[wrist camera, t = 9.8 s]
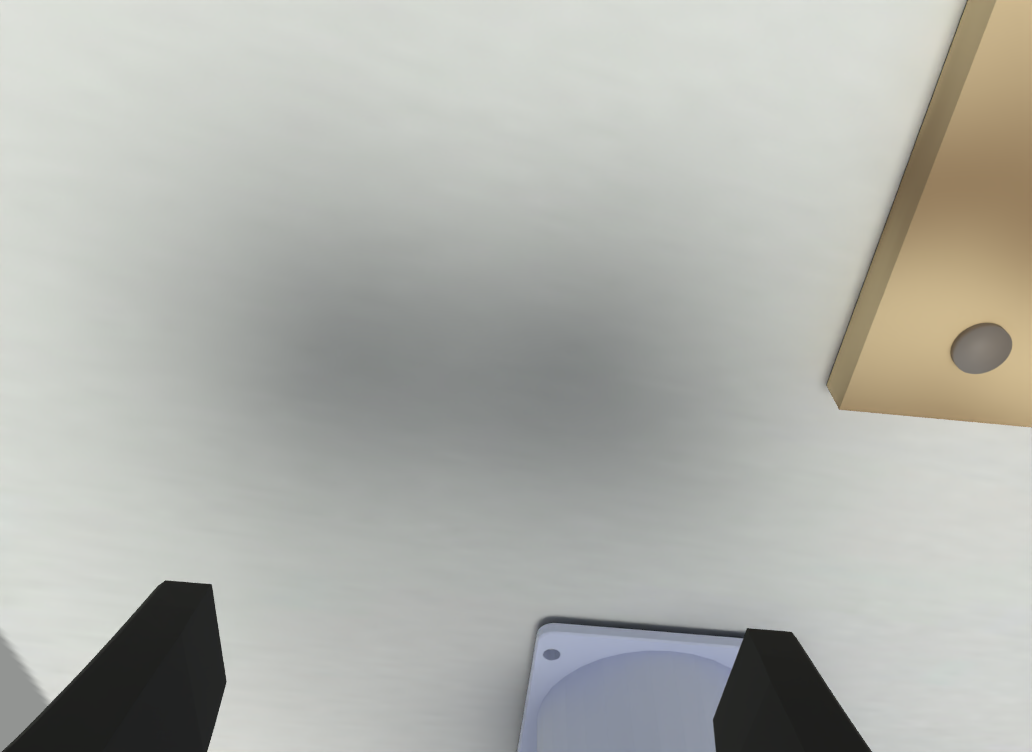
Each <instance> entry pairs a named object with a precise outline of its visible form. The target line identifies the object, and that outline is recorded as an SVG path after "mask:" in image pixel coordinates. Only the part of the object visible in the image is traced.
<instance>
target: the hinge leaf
mask: <svg viewBox="0 0 1032 752" xmlns="http://www.w3.org/2000/svg"><path fill="white" fill-rule="evenodd" d="M827 387H828V389H829V391H830V393H831V395H832V397H833V399H834V401H835V402H836V404H837V406H838V408H839V410H849V411H860V412H871V413H882V414H893V415H903V416H914V417H925V418H936V419H947V420H958V421H968V422H979V423H990V424H1001V425H1012V426H1023V427H1032V0H968V1H967V4H966V7H965V9H964V12H963V15H962V18H961V20H960V23H959V26H958V29H957V31H956V34H955V37H954V39H953V42H952V45H951V48H950V50H949V53H948V56H947V59H946V61H945V64H944V67H943V69H942V72H941V75H940V78H939V80H938V83H937V86H936V89H935V91H934V94H933V97H932V99H931V102H930V105H929V108H928V110H927V113H926V116H925V119H924V121H923V124H922V127H921V129H920V132H919V135H918V138H917V140H916V143H915V146H914V149H913V151H912V154H911V157H910V159H909V162H908V165H907V168H906V170H905V173H904V176H903V179H902V181H901V184H900V187H899V189H898V192H897V195H896V198H895V200H894V203H893V206H892V209H891V211H890V214H889V217H888V219H887V222H886V225H885V228H884V230H883V233H882V236H881V239H880V241H879V244H878V247H877V249H876V252H875V255H874V258H873V260H872V263H871V266H870V269H869V271H868V274H867V277H866V279H865V282H864V285H863V288H862V290H861V293H860V296H859V299H858V301H857V304H856V307H855V309H854V312H853V315H852V318H851V320H850V323H849V326H848V328H847V331H846V334H845V337H844V339H843V342H842V345H841V348H840V350H839V353H838V356H837V358H836V361H835V364H834V367H833V369H832V372H831V375H830V378H829V380H828V383H827Z"/></svg>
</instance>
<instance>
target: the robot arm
mask: <svg viewBox="0 0 1032 752" xmlns="http://www.w3.org/2000/svg"><path fill="white" fill-rule="evenodd" d="M550 649H551V650H550ZM225 685H226V676H225V669H224V662H223V656H222V649H221V643H220V636H219V629H218V623H217V616H216V610H215V603H214V596H213V590H212V584H201V583H189V582H177V581H164V582H163V583H161V584H160V585H159V586H157V588H156V589H155V590H154V591H153V592H152V593H151V594H150V596H149V597H148V598H147V599H146V600H145V601H144V602H143V604H142V605H141V606H140V607H139V608H138V609H137V610H136V612H135V613H134V614H133V615H132V616H131V617H130V618H129V619H128V621H127V622H126V623H125V624H124V625H123V626H122V627H121V628H120V630H119V631H118V632H117V633H116V634H115V635H114V636H113V637H112V638H111V640H110V641H109V642H108V643H107V644H106V645H105V646H104V647H103V648H102V649H101V651H100V652H99V653H98V654H97V655H96V656H95V657H94V658H93V659H92V660H91V661H90V662H89V664H88V665H87V666H86V667H85V668H84V669H83V670H82V671H81V672H80V673H79V674H78V675H77V676H76V677H75V678H74V679H73V681H72V682H71V683H70V684H69V685H68V686H67V687H66V688H65V689H64V690H63V691H62V692H61V693H60V694H59V695H58V696H57V697H56V698H55V699H54V700H53V701H52V702H51V703H50V704H49V705H48V706H47V707H46V708H45V710H44V711H43V712H42V713H41V714H40V715H39V716H38V717H37V718H36V719H35V720H34V721H33V722H32V723H31V724H30V725H29V726H28V727H27V728H26V729H25V730H24V731H23V732H22V733H21V734H20V735H19V736H18V737H17V738H16V739H15V740H14V741H13V742H12V743H11V744H10V745H9V746H8V747H6V748H5V749H4V750H3V751H2V752H207V750H208V747H209V743H210V740H211V736H212V733H213V729H214V726H215V722H216V719H217V715H218V711H219V708H220V704H221V700H222V697H223V693H224V689H225ZM517 752H872V751H871V750H870V748H869V747H868V745H867V744H866V743H865V741H864V740H863V738H862V737H861V735H860V734H859V732H858V731H857V729H856V728H855V726H854V725H853V723H852V722H851V720H850V719H849V717H848V716H847V714H846V713H845V712H844V710H843V709H842V707H841V706H840V704H839V703H838V701H837V700H836V698H835V696H834V695H833V693H832V692H831V690H830V689H829V687H828V686H827V684H826V683H825V681H824V680H823V678H822V677H821V675H820V674H819V672H818V670H817V669H816V667H815V666H814V664H813V663H812V661H811V660H810V658H809V657H808V655H807V653H806V652H805V650H804V649H803V647H802V646H801V644H800V643H799V641H798V640H797V638H796V637H795V636H794V635H793V633H792V632H785V631H773V630H761V629H749V628H747V630H746V633H745V635H744V638H733V637H721V636H709V635H696V634H684V633H672V632H660V631H648V630H635V629H623V628H611V627H599V626H586V625H574V624H562V623H549V624H546V625H543V626H542V627H541V628H539V630H538V632H537V635H536V641H535V647H534V653H533V659H532V665H531V671H530V677H529V683H528V689H527V695H526V701H525V707H524V713H523V719H522V725H521V731H520V737H519V743H518V749H517Z"/></svg>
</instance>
